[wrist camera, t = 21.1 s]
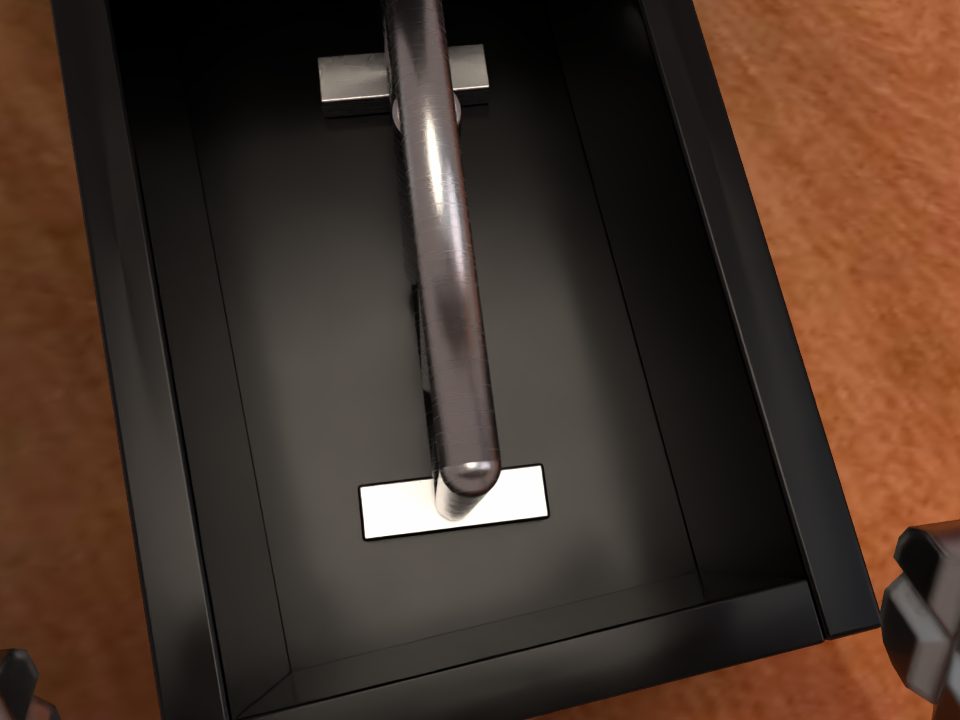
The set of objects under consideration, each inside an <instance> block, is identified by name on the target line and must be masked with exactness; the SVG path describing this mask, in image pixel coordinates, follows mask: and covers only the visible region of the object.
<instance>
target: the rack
mask: <svg viewBox="0 0 960 720" xmlns="http://www.w3.org/2000/svg"><path fill="white" fill-rule="evenodd" d="M380 7H381V18H382V30H383V41H384V51H380V52H368V53H356V54H344V55H332V56H321V57H317V58H316V69H317V79H318V89H319V99H320V105H321V109H322V113H323V116H324V117H326V118H328V117H339V116H350V115H361V114H373V113H384V112H391V118H392V130H393V142H394V153H395V165H396V177H397V188H398V200H399V212H400V223H401V235H402V247H403V258H404V270H405V276H406V278H407V280H408V282H409V283H410V284H411V292H412V300H413V309H414V318H415V327H416V335H417V344H418V353H419V362H420V370H421V379H422V388H423V397H424V406H425V414H426V423H427V432H428V441H429V449H430V458H431V467H432V476H428V477H419V478H411V479H403V480H395V481H386V482H378V483H370V484H361V485H359V486H358V500H359V510H360V520H361V531H362V539H363V541H365V542H375V541H383V540H391V539H399V538H407V537H415V536H423V535H431V534H439V533H447V532H455V531H463V530H471V529H478V528H486V527H494V526H502V525H510V524H518V523H526V522H534V521H542V520H546V519H548V518H550V508H549V501H548V494H547V487H546V479H545V472H544V466H543V464H541V463H535V464H527V465H519V466H510V467H502V468H501V455H500V447H499V440H498V432H497V424H496V416H495V409H494V401H493V393H492V386H491V378H490V370H489V362H488V355H487V347H486V339H485V332H484V324H483V316H482V308H481V301H480V293H479V285H478V278H477V270H476V262H475V254H474V247H473V239H472V231H471V224H470V216H469V208H468V200H467V193H466V185H465V177H464V170H463V162H462V154H461V146H460V138H461V125H462V105H473V104H485V103H488V102H489V98H490V91H491V83H490V75H489V68H488V61H487V54H486V46H485V44H484V43H475V44H463V45H451V46H447V38H446V31H445V23H444V15H443V8H442V0H380Z"/></svg>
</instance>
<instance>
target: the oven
mask: <svg viewBox="0 0 960 720" xmlns="http://www.w3.org/2000/svg"><path fill="white" fill-rule="evenodd" d="M50 3H51V9H52V16H53V22H54V29H55V35H56V42H57V48H58V54H59V61H60V67H61V74H62V80H63V87H64V93H65V100H66V106H67V113H68V119H69V126H70V132H71V139H72V145H73V152H74V158H75V164H76V171H77V177H78V184H79V190H80V197H81V203H82V210H83V216H84V223H85V229H86V236H87V242H88V249H89V255H90V261H91V268H92V274H93V281H94V287H95V294H96V300H97V307H98V313H99V320H100V326H101V333H102V339H103V346H104V352H105V359H106V365H107V371H108V378H109V384H110V391H111V397H112V404H113V410H114V417H115V423H116V430H117V436H118V443H119V449H120V456H121V462H122V469H123V475H124V481H125V488H126V494H127V501H128V507H129V514H130V520H131V527H132V533H133V540H134V546H135V553H136V559H137V566H138V572H139V579H140V585H141V591H142V598H143V604H144V611H145V617H146V624H147V630H148V637H149V643H150V650H151V656H152V663H153V669H154V676H155V682H156V688H157V695H158V701H159V708H160V714H161V720H525V719H529V718H533V717H537V716H541V715H545V714H549V713H552V712H556V711H560V710H564V709H568V708H572V707H576V706H580V705H584V704H587V703H591V702H595V701H599V700H603V699H607V698H611V697H615V696H619V695H622V694H626V693H630V692H634V691H638V690H642V689H646V688H650V687H654V686H657V685H661V684H665V683H669V682H673V681H677V680H681V679H685V678H689V677H692V676H696V675H700V674H704V673H708V672H712V671H716V670H720V669H724V668H727V667H731V666H735V665H739V664H743V663H747V662H751V661H755V660H759V659H762V658H766V657H770V656H774V655H778V654H782V653H786V652H790V651H794V650H797V649H801V648H805V647H809V646H813V645H817V644H821V643H823V642H824V641H825V640H834V639H838V638H842V637H846V636H850V635H854V634H858V633H861V632H865V631H869V630H873V629H877V628H879V627H881V622H880V610H879V607H878V603H877V600H876V597H875V594H874V590H873V587H872V584H871V581H870V577H869V574H868V571H867V568H866V564H865V561H864V558H863V555H862V551H861V548H860V545H859V542H858V538H857V535H856V532H855V529H854V525H853V522H852V519H851V516H850V512H849V509H848V506H847V503H846V499H845V496H844V493H843V490H842V486H841V483H840V480H839V477H838V473H837V470H836V467H835V463H834V460H833V457H832V454H831V450H830V447H829V444H828V441H827V437H826V434H825V431H824V428H823V424H822V421H821V418H820V415H819V411H818V408H817V405H816V402H815V398H814V395H813V392H812V389H811V385H810V382H809V379H808V376H807V372H806V369H805V366H804V363H803V359H802V356H801V353H800V350H799V346H798V343H797V340H796V337H795V333H794V330H793V327H792V324H791V320H790V317H789V314H788V311H787V307H786V304H785V301H784V297H783V294H782V291H781V288H780V284H779V281H778V278H777V275H776V271H775V268H774V265H773V262H772V258H771V255H770V252H769V249H768V245H767V242H766V239H765V236H764V232H763V229H762V226H761V223H760V219H759V216H758V213H757V210H756V206H755V203H754V200H753V197H752V193H751V190H750V187H749V184H748V180H747V177H746V174H745V171H744V167H743V164H742V161H741V158H740V154H739V151H738V148H737V145H736V141H735V138H734V135H733V131H732V128H731V125H730V122H729V118H728V115H727V112H726V109H725V105H724V102H723V99H722V96H721V92H720V89H719V86H718V83H717V79H716V76H715V73H714V70H713V66H712V63H711V60H710V57H709V53H708V50H707V47H706V44H705V40H704V37H703V34H702V31H701V27H700V24H699V21H698V18H697V14H696V11H695V8H694V5H693V1H692V0H442V8H443V15H444V23H445V31H446V38H447V46H451V45H463V44H475V43H484V44H485V46H486V54H487V61H488V68H489V75H490V83H491V91H490V98H489V102H488V103H485V104H473V105H462V125H461V138H460V146H461V154H462V162H463V170H464V177H465V185H466V193H467V200H468V208H469V216H470V224H471V231H472V239H473V247H474V254H475V262H476V270H477V278H478V285H479V293H480V301H481V308H482V316H483V324H484V332H485V339H486V347H487V355H488V362H489V370H490V378H491V386H492V393H493V401H494V409H495V416H496V424H497V432H498V440H499V447H500V455H501V468H502V467H510V466H519V465H527V464H535V463H541V464H543V466H544V472H545V479H546V487H547V494H548V501H549V508H550V518H548V519H546V520H542V521H534V522H526V523H518V524H510V525H502V526H494V527H486V528H478V529H471V530H463V531H455V532H447V533H439V534H431V535H423V536H415V537H407V538H399V539H391V540H383V541H375V542H365V541H363V539H362V531H361V520H360V510H359V500H358V486H359V485H361V484H370V483H378V482H386V481H395V480H403V479H411V478H419V477H428V476H432V467H431V458H430V449H429V441H428V432H427V423H426V414H425V406H424V397H423V388H422V379H421V370H420V362H419V353H418V344H417V335H416V327H415V318H414V309H413V300H412V292H411V284H410V283H409V282H408V280H407V278H406V276H405V270H404V258H403V247H402V235H401V223H400V212H399V200H398V188H397V177H396V165H395V153H394V142H393V130H392V118H391V112H384V113H373V114H361V115H350V116H339V117H328V118H326V117H324V116H323V113H322V109H321V105H320V99H319V89H318V79H317V69H316V58H317V57H321V56H332V55H344V54H356V53H368V52H380V51H384V41H383V30H382V18H381V7H380V0H50Z"/></svg>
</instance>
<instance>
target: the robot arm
mask: <svg viewBox="0 0 960 720" xmlns="http://www.w3.org/2000/svg"><path fill="white" fill-rule="evenodd" d="M893 557H894V559H895V560H896V561H897V563H898V564H899V566H900V567H901V569H902V570H903V571H904V572H903V573H902V574H901V575H900V576H899V577H898V578H897V579H896V580H895V581H893V582H892V583H891V584H890V585H889V586H888V587H887V588H886V589H885V591H884V595H883V600H882V605H881V610H880V622H881V629H882V636H883V643H884V645H885V648H886V650H887V653H888V656H889V658H890V661H891V663H892V665H893V667H894V669H895V670H896V672H897V674H898V675H899V677H900V678H901V680H902V682H903V683H904V685H905V687H907V688H908V689H910V690H911V691H913V692H915V693H916V694H918V695H919V696H921V697H922V698H924V699H926V700H927V701H929V702H930V703H932V704H934V706H933V713H932V720H960V519H959V520H952V521H945V522H938V523H932V524H925V525H918V526H911V527H908V528H907V529H906V530H905V531H904V533H903V534H902V535H901V536H900V537H899V539H898V542H897V546H896V549H895V553H894V556H893ZM38 677H39V672H38V670H37V668H36V666H35V665H34V663H33V661H32V659H31V657H30V655H29V654H28V652H27V650H26V649H14V648H13V649H3V650H0V720H61V719H60V716H59V714H58V712H57V710H56V708H55V706H54V705H52V704H50V703H48V702H46V701H45V700H43V699H41V698H39V697H37V696H35V695H34V694H33V692H34V689H35V686H36V683H37V680H38Z"/></svg>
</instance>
